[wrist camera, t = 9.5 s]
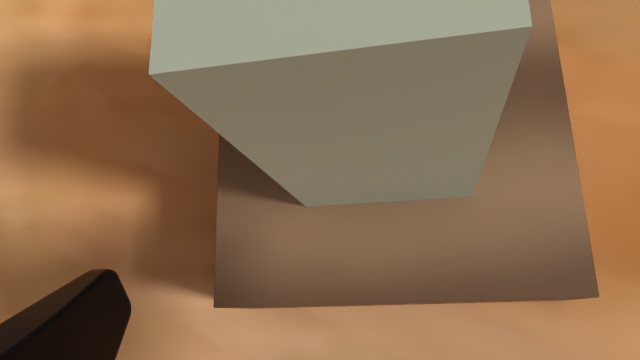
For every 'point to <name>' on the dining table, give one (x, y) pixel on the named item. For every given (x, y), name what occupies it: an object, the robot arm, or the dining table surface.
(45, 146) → the dining table surface
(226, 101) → the sage block
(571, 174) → the walnut base block
